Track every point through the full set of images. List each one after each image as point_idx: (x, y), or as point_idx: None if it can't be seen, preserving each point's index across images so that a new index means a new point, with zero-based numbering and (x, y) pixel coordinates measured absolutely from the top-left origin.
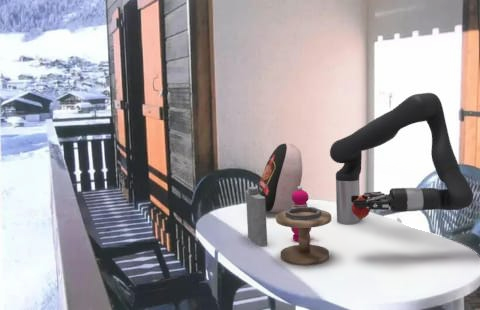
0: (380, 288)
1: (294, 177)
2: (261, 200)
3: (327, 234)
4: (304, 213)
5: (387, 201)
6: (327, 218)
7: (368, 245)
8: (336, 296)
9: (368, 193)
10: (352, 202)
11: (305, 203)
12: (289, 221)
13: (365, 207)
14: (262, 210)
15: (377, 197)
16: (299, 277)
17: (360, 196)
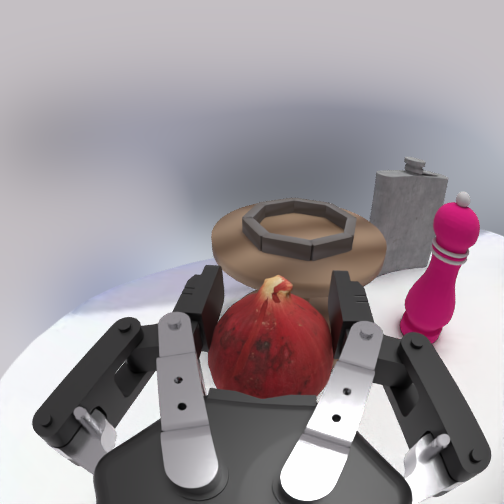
0: (37, 409)
1: None
2: (377, 177)
3: (470, 380)
4: (326, 234)
5: (39, 420)
6: (248, 268)
7: None
8: (57, 332)
9: (414, 362)
10: (328, 306)
11: (450, 249)
12: (244, 210)
13: (210, 356)
14: (374, 201)
15: (169, 387)
16: (164, 305)
17: (263, 286)
